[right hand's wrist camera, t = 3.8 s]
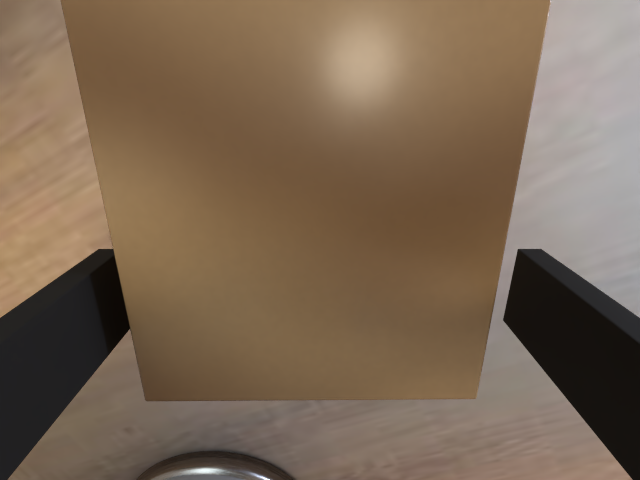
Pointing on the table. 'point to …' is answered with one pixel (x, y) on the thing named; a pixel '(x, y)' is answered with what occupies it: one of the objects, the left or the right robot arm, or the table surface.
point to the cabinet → (308, 186)
